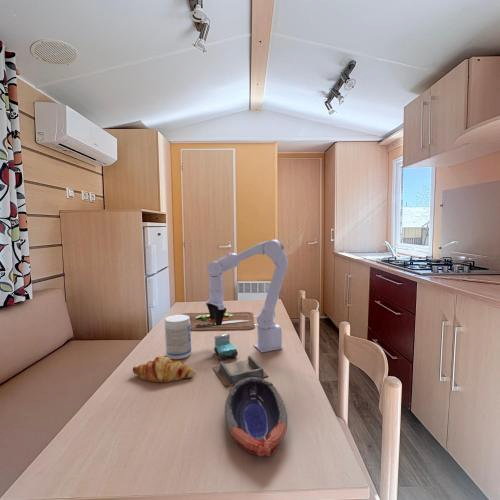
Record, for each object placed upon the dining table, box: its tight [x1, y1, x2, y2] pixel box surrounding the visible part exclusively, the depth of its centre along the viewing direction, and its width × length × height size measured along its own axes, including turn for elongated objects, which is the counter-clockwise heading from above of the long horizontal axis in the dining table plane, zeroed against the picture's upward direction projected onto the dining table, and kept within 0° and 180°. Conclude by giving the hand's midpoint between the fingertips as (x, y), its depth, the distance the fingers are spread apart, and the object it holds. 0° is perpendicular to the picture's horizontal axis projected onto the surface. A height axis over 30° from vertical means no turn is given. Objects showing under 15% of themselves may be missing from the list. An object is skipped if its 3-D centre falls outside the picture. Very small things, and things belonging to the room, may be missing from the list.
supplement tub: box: [164, 314, 192, 360], centre depth 118 cm, size 10×10×15 cm
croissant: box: [132, 356, 196, 383], centre depth 101 cm, size 21×10×8 cm, turn 87°
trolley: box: [213, 333, 238, 361], centre depth 117 cm, size 7×9×6 cm
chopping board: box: [180, 311, 259, 332], centre depth 158 cm, size 45×27×3 cm, turn 91°
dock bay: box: [212, 355, 269, 387], centre depth 104 cm, size 15×14×3 cm
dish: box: [224, 377, 288, 457], centre depth 78 cm, size 16×31×5 cm, turn 2°
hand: (215, 322), depth 128 cm, fingers open, 7 cm apart
